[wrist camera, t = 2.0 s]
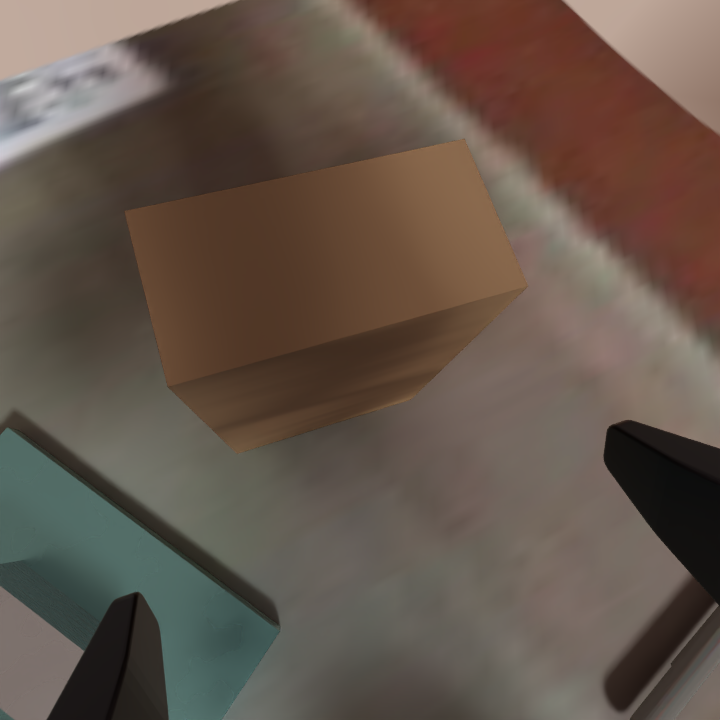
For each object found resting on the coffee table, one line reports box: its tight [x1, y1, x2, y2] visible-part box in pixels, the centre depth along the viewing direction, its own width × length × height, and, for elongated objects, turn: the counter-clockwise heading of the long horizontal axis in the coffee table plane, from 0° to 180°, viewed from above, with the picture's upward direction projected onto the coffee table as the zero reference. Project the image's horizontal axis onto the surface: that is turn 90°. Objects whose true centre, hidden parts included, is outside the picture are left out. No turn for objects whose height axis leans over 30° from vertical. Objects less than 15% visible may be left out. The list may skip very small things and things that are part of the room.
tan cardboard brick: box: [124, 139, 528, 454], centre depth 15 cm, size 6×3×13 cm, turn 108°
